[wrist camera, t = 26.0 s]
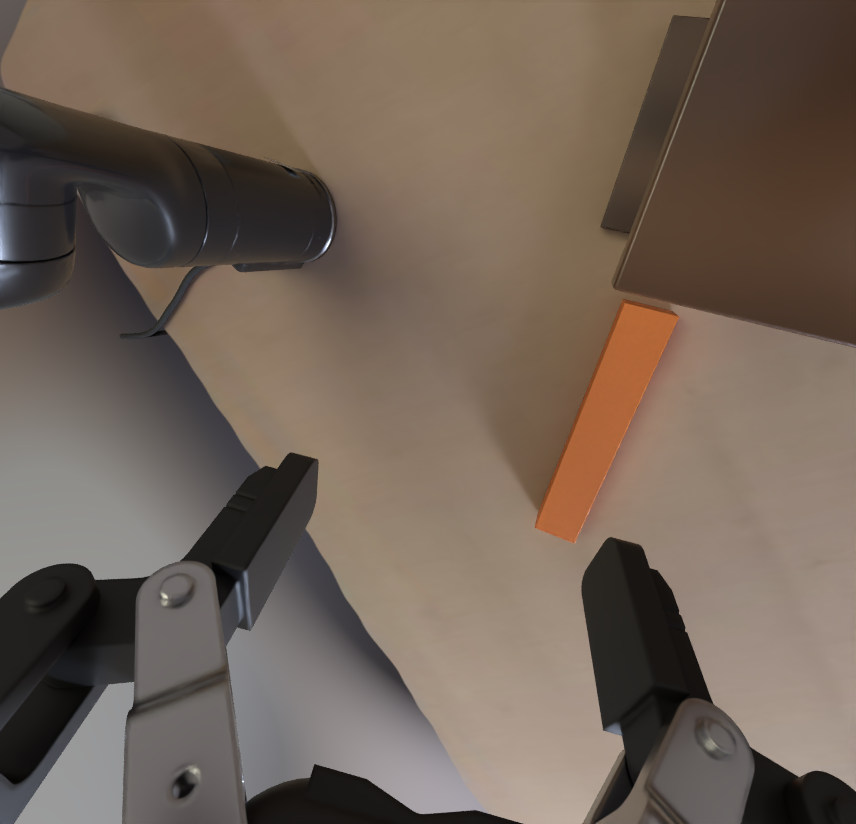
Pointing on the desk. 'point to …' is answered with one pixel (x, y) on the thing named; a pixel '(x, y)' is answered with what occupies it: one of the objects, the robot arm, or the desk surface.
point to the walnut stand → (747, 169)
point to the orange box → (604, 415)
